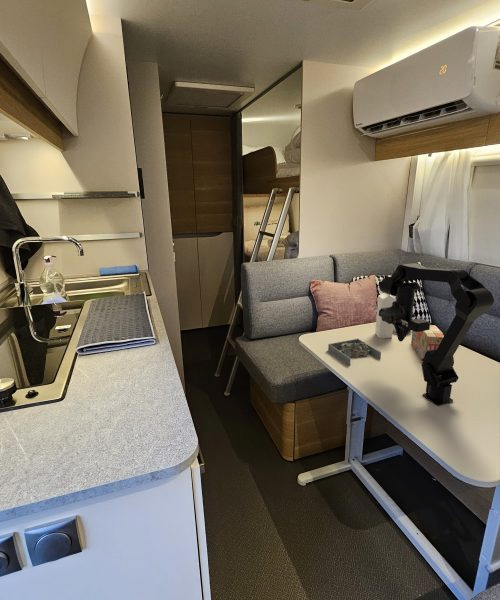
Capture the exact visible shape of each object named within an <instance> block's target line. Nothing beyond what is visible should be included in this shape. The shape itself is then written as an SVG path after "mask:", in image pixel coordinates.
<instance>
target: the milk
mask: <svg viewBox="0 0 500 600" xmlns="http://www.w3.org/2000/svg"><path fill="white" fill-rule="evenodd" d="M393 301H396V298H395V296H392V295H389V294H386V293H383V292H381V293H380V294H378V296H377V307H376V319H375V332H374V334H375V335H376V336H377V338H379V339H392V338H393V333H394V332H393V324H388V323H387V322H385V321H382V318H381V316H379V310H380V309H381V308H387V307H392V303H393Z"/></svg>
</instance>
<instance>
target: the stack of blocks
mask: <svg viewBox="0 0 500 600" xmlns="http://www.w3.org/2000/svg"><path fill="white" fill-rule="evenodd" d="M411 331H412V330H411ZM444 335H445V334H444V333H443V332H442V330H440V329H439V328H438V327H437V326H436V325H433V324H430V330H426V331H421V332H414V331H412V332H411V341H410V343H411V345H412V347H413V348H414V351H416V354H417V355H418V357H419V359H420V361H421V363H422V362H423V361H422V359H423V358H424V356H425V353H426V352H427V351H430V350H434V349H437V347H438V346H439V344H440V342H441V340H442V338H443V337H444Z"/></svg>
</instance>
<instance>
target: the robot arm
mask: <svg viewBox="0 0 500 600" xmlns="http://www.w3.org/2000/svg"><path fill="white" fill-rule="evenodd" d="M419 280H421V281H430V282H438V283H448V285H449V288H450V292H451V296H452V297H453V298H454V299H455V305H454V309H455V311H454V312H455V314H454V317H453V318H452V321H451V322H450V325H449V326H448V327H447V330H446V331H445V333H444V334H443V335H444V337H443V338H442V340H441V342H440V344H439V346H438V347H437V349H434V350H430V351H427V352H426V353H425V356H424V358H423V359H422V361H423V362H422V361H421V370H422V375H423V380H424V382H426V386H425V387H426V388H425V392H424V393H422V396H423V397H424V398H426V399H427V400H429V401H430V402H432V403H433V404H435V405H436V406H442V405H446V404H449V403H453V402H454V399H453V398H451V394H452V388H453V385H452V384H453V383H457V382H458V380H459V376H458V374H457V371H456V370H455V368H454V367H453V366H454V365H455V359H454V355H455V353H456V352H457V350H458V348H459V347H460V345H461V344H462V342H463V340H464V339H465V337H466V335H467V334H468V332H469V331H470V328H471V327H472V325H473V324H474V322H475V321H476V320H477V319H479V317H481V316H482V315H484V314H485V313H486V312H487V311H488V310H489V309H490V308H491V307H492V306H493V304H494V302H495V298H494V297H493V294H492V292H491V291H490V290H489V289H488V288H486V286H485V285H484V284H483V283H482V282H480V281H478V280H477V278H475V277H473V276H471V274H470V273H469V272H468V271H467V270H465V269H463V268H459V269H458V268H457V269H454V268H440V267H438V268H437V267H426V266H424V265H423V264H419V263H416V262H413V263H403V264H398V265H397V267H396V269H395V271H394V272H393V273H392V274H385V275H384V278H383V279H382V280H381V281H380V283H379V284H378V288H379V289H378V290H379V291H380V292H381V293H386V294H389V295H391V296H393V297H396V298H395V299H396V301H393V303H392V307H387V308H381V309H380V310H379V316H381V318H382V321H385V322H387V323H388V324H393V325H394V326H395V329H396V332H395V333H396V336H397V339H398V342H403V341H404V340H405V338H406V337H407V335H408V334H409V332H411V331H414V332H421V331H426V330H430V325H431V323H430V322H429V321H427V320H425V319H423V318H417V319H414V318H415V317H416V314H414V313H413V311H414V307H417V302H415V295H416V291H417V290H421V289H422V288H421V285H419V284H418V282H417V281H419ZM409 281H411V282H409ZM462 286H463V287H465V288H466V289H467V290H465V289H464V288H463V287H462Z"/></svg>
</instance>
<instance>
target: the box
mask: <svg viewBox="0 0 500 600" xmlns="http://www.w3.org/2000/svg"><path fill="white" fill-rule="evenodd" d="M362 342H364V341H363V340H361V339H360V338H353V339H349V340H344V341H343V340H342V341H337V342H333V343H328V345H327V346H328V347H327V349H328V350H327V351H329V352H330V353H331V354H332V355H334V356H335V357H336V358H338V359H339V360H341V361H342V362H343V363H345V364H346V365H348V366H351V358H352V357H348V356H346V355H345V354H344V352H342V346H341V345H342V344H343V343H356V344H357V343H362ZM365 344H366V345H367V346H368V347H369V350H370V351H369V354H371V356H373V357H375V358H377V359H379V360H381V359H382V358H381V357H382V352H381V351H380V350H378V349H377V348H375V347H373V346H372V345H370V344H368V343H367V342H365ZM340 350H341V351H340Z"/></svg>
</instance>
